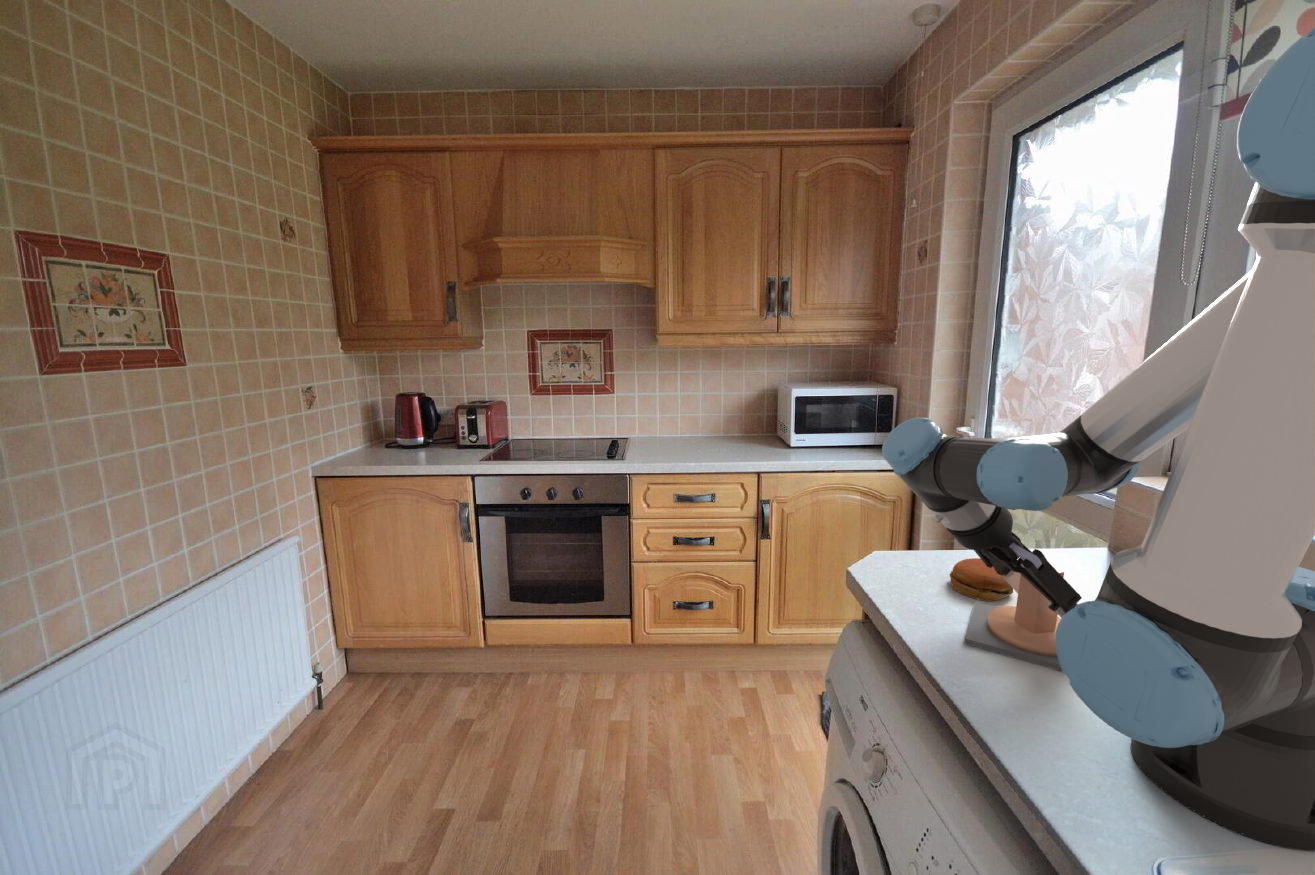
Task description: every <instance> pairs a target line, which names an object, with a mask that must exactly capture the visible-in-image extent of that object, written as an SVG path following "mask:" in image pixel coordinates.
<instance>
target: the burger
mask: <svg viewBox="0 0 1315 875" xmlns="http://www.w3.org/2000/svg"><path fill="white" fill-rule="evenodd" d="M1004 577H1005V576H1004V575H1003V576H1002V575H999V574H998V573H997V572H996V571H995V569H994V567H992V568H990V567H987V566H986V564H985V563H984V562H983V561H982V560H981V558H980V557H977V558H976V557H975V558H965V559H962V560H960V561H958V562H957V563H955V565H954V566H953V567H952V570H951V571H950V573H949V578H950V584H951V587H952V588H953V589H954V590H956V591H957V592H958V593H960V594H962V595H964V596H965V597H969V598H971V599H972V598H973V599H977V600H980V601H985V602H997V601H999V600H1001V599H1004V598H1006V597H1008V596H1010V595H1012V594H1013V593H1014V589H1013V588H1012V587H1011V586H1010V584H1009V583H1008V582H1007V581H1006V580H1005V579H1004Z"/></svg>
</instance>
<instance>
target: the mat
mask: <svg viewBox="0 0 1315 875" xmlns="http://www.w3.org/2000/svg"><path fill="white" fill-rule="evenodd" d="M995 608H998V606H994V605H989V604H986V603H983V602H982V603H981V602H978V601H974V606H973V609H972V613H971V616H970V619H969V623H968V626H967V629H966V632H965V637H964V640H963V644H965V645H969V646H972V647H976V648H979V649H982V650H986V651H990V652H993V653H997V654H1000V655H1003V656H1008V657H1011V658H1015V659H1018V660H1021V661H1026V662H1029V663H1032V664H1036V665H1039V666H1043V667H1046V668H1049V669H1054V670H1057V671H1061V672H1063V671H1062V668H1061V666H1060V663H1059V660H1058V657H1053V656H1045V655H1040V654H1036V653H1032V652H1028V651H1025V650H1022V649H1019V648H1017V647H1014V646H1012V645H1010V644H1008V643H1006V642H1004V641H1003V640H1001V639H999V638H998V637H997V636H995V635H994V634H993V633H992V632H991V631H990V630H989V628H988V625H987V620H988V614H989V612H990V611H991V610H993V609H995Z"/></svg>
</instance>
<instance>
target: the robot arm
mask: <svg viewBox="0 0 1315 875" xmlns="http://www.w3.org/2000/svg"><path fill="white" fill-rule="evenodd" d="M1237 126H1238V127H1237V134H1236V135H1237V136H1236V149H1237V154H1238V158H1239V160H1240V162H1241V163H1242V164H1243V166H1244V169H1245V171H1246V172H1247V174H1248V176H1249V177H1250V179H1251V180H1252V182H1254V186H1253V188H1252V190H1251V193H1250V196H1249V199H1248V201H1247V204H1246V207H1245V210H1244V212H1243V215H1242V218H1241V220H1240V223H1239V226H1238V228H1237V230H1238V232H1239V233H1240V234H1241V236H1243V238H1244V239H1245V240H1246V241H1247V242H1248V244H1249V245H1250V247H1252V248H1253V250H1254V251H1255V261H1254V264H1253V266H1252V269H1251V270H1250V271H1249V272H1248V273H1246V274H1245V275H1244V276H1243V277H1241V279H1239V280H1238V281H1237V282H1236V283H1235V284H1233V285H1232V286H1231V287H1230V288H1229V289H1228V290H1226V291H1225V292H1224V293H1222V294H1221V295H1220V296H1219V297H1218V298H1217V299H1216V300H1214V302H1212V303H1210V305H1209V306H1208V307H1206V308H1204V310H1203V311H1201V313H1199V314H1198V315H1197V316H1196V317H1195V318H1193V319H1192V320H1191V321H1190V322H1188V324H1187V325H1185V326H1184V327H1182V328H1181V329H1180V330H1179V331H1178V332H1177V333H1176V334H1174V335H1173V336H1172V337H1171V338H1170V339H1169V340H1168V341H1166V342H1165V343H1164V344H1163V345H1162V346H1161V347H1159V348H1158V349H1156V351H1155V352H1154V353H1152V354H1151V355H1150V356H1148V357H1147V358H1146V359H1145V360H1144V361H1142V362H1141V363H1140V364H1139V365H1138V366H1137V367H1135V368H1134V369H1133V370H1132V371H1131V372H1129V374H1128V375H1126V376H1125V377H1124V378H1122V379H1121V380H1120V381H1119V382H1118V383H1116V385H1115V386H1113V387H1112V388H1111V389H1109V390H1108V391H1107V392H1106V393H1105V394H1103V396H1102V397H1100V398H1099V399H1098V400H1096V401H1095V402H1094V403H1093V404H1091V406H1090V407H1088V408H1087V409H1086V410H1085V411H1084V412H1082V414H1081V415H1080V416H1078V417H1077V418H1076V419H1074V420H1073V421H1072V422H1071V423H1070V424H1068V425H1067V426H1065V428H1063V429H1062V430H1060V431H1058V432H1056V433H1055V432H1054V433H1046V434H1045V433H1043V434H1036V435H1035V434H1034V435H1021V436H1012V437H1011V436H1010V437H999V438H998V437H997V438H996V437H995V438H993V437H992V438H990V437H966V436H960V435H959V436H957V435H956V436H955V435H948V434H945V433H944V432H943V429H942V428H941V426H938V425H937V424H936V423H935V422H933V420H931V419H929V418H927V417H922V416H921V417H917V416H916V417H913V418H910V419H907V420H905V421H903V422H901V423H900V424H898V425H897V426H896V427H894V428H892V430H891V431H889V434H888V435H887V437H886V438H885V439H884V441H883V443H882V446H881V453H882V457H883V459H884V460H885V461H886V462H887V464H889V466H890V467H891V468H892V470H893V472H894V475H896V476H898V478H900V480H902V482H904V484H905V485H906V486H907V487H908V488H909V489H910V491H912V492H913V494H915V495H916V497H917V498H918V499H920V501H921V502H922V503H923V504H924V505H925V506H926V507H927V508H928V510H930V512H932V513H933V514H934V515H933V518H932V520H933V521H935V523H940V522H941V524H942V525H943V526H944V527H945V528H946V530H947V531H948V532H949V534H951V536H952V537H953V538H954V539H955V540H956V541H957V542H958V543H959V544H960V545H961V546H963V547H964V548H965V549H968V550H973V551H974V552H975V553H976V555H977V556H978V558H981V560H982V561H983V562H984V563H985V564H986V566H987V567H990V568H992V567H994V569H995V571H996V572H997V573H998V574H999V575H1002V576H1003V575H1004V576H1005V577H1004V579H1005V580H1006V581H1007V582H1008V583H1009V584H1010V586H1011V587H1012V588H1013V591H1015V592H1016V594H1018V590H1019V583H1020V575H1022V576H1023V577H1024V578H1025V579H1026V580H1027V581H1028V582H1029V583H1031V584H1032V585H1033V586H1034V587H1035V588H1036V589H1037V590H1038V591H1039V592H1040V593H1041V594H1043V595H1044V596H1045V597H1046V598H1047V599H1048V600H1049V601H1050V602H1049V603H1048V604H1049V605H1050V606H1049V607H1048V608H1050V609H1051V610H1052V611H1054V612H1056V613H1057V614H1058V617H1059V618H1061V620H1060V622H1059V624H1058V626H1057V630H1056V636H1055V646H1056V652H1057V657H1058V660H1059V663H1060V666H1061V668H1062V671H1061V672H1063V673H1064V674H1065V676H1067V677H1068V678H1067V679H1068V680H1069V685H1070V687H1071V688H1072V689H1073V691H1074V693H1075V694H1076V695H1077V697H1078V698H1079V699H1080V700H1081V701H1082V703H1083V704H1084V706H1086V707H1087V708H1088V709H1089V710H1090V712H1092V713H1093V714H1094V715H1095V716H1096V717H1097V718H1099V719H1100V720H1101V721H1103V723H1105V724H1106V725H1108V726H1110V728H1112V729H1114V730H1115V731H1117V732H1118V733H1120V734H1122V735H1123V736H1125V737H1128V738H1129V739H1130V752H1131V754H1132V756H1133V759H1134V761H1135V762H1136V764H1137V765H1138V767H1139V769H1140V770H1141V771H1143V772H1142V773H1144V774H1145V775H1146V776H1147V777H1148V778H1149V779H1150V780H1151V781H1152V782H1153V783H1154V784H1155V785H1156V786H1158V787H1159V788H1160V789H1161V790H1163V791H1164V792H1165V793H1166V794H1168V795H1169V796H1171V797H1172V798H1173V799H1175V800H1176V801H1177V802H1179V803H1180V804H1182V805H1183V806H1185V807H1187V808H1188V809H1190V810H1192V811H1193V812H1195V813H1197V814H1199V815H1201V816H1203V817H1204V818H1206V819H1208V820H1209V821H1212V822H1214V823H1216V824H1218V825H1220V826H1222V827H1225V828H1226V829H1229V830H1230V831H1231V830H1232V831H1234V832H1235V833H1239V834H1242V835H1244V836H1247V837H1248V838H1252V839H1255V840H1257V841H1261V842H1264V843H1268V844H1273V845H1274V846H1275V845H1276V846H1280V847H1284V848H1288V849H1295V850H1303V851H1315V571H1314V570H1311V569H1308V568H1305V567H1302V566H1300V564H1301V562H1302V561H1303V559H1304V557H1305V555H1306V553H1307V551H1308V550H1309V547H1310V545H1311V543H1312V541H1313V540H1314V538H1315V27H1314V28H1313V29H1312V30H1310V31H1309V32H1308V33H1307V34H1305V35H1302V36H1300V38H1299V39H1297V40H1296V41H1294V43H1292V45H1291V46H1290V47H1288V48H1287V49H1286V50H1285V51H1284V52H1283V53H1282V54H1281V55H1280V56H1279V57H1278V58H1277V59H1276V61H1275V62H1273V64H1272V65H1271V67H1270V68H1268V70H1267V71H1266V72H1265V73H1264V75H1263V76H1262V78H1261V79H1260V80H1259V81H1258V83H1257V85H1255V88H1254V90H1253V91H1252V93H1251V94H1250V96H1249V98H1248V100H1247V101H1246V104H1245V106H1244V108H1243V111H1242V114H1241V116H1240V119H1239V122H1238V125H1237ZM1185 431H1186V434H1185V436H1184V439H1183V442H1182V444H1181V446H1180V449H1179V451H1178V453H1177V456H1176V458H1175V461H1174V463H1173V466H1172V469H1171V471H1170V474H1169V476H1168V478H1167V481H1166V483H1165V486H1164V489H1163V491H1162V493H1161V496H1160V498H1159V500H1158V501H1159V502H1158V503H1157V505H1156V506H1157V507H1156V509H1155V511H1154V514H1153V516H1152V519H1151V522H1150V524H1149V526H1148V528H1147V531H1146V533H1145V536H1144V539H1143V542H1142V543H1141V545H1138V546H1136V547H1132V548H1131V547H1130V548H1127V549H1123V550H1121V551H1118V552H1117V553H1115V554H1114V556H1113V557H1112V559H1111V560H1110V563H1109V566H1108V569H1107V570H1106V574H1105V576H1104V579H1103V581H1102V583H1101V585H1100V586H1101V587H1100V589H1099V592H1098V594H1097V596H1096V598H1095V599H1094V600H1088V601H1085V602H1082V603H1081V602H1080V600H1082V595H1081V594H1080V593H1079V592H1077V591H1076V590H1075V588H1074V587H1073V586H1072V585H1071V584H1070V583H1069V582H1068V581H1067V580H1066V579H1065V578H1064V577H1062V576H1061V575H1060V574H1059V573H1058V572H1057V571H1056V570H1055V568H1056V567H1054V566H1053V565H1052V564H1051V563H1050V562H1049V561H1048V559H1047V558H1046V556H1045V554H1044V553H1043V552H1042V551H1041V550H1039V549H1036V548H1035V549H1033V551H1032V550H1030V549H1029V548H1028V547H1027V546H1026V545H1025V544H1024V543H1022V540H1021V538H1020V537H1019V536H1018V535H1016V534H1015V533H1014V532H1013V525H1014V519H1013V516H1012V514H1011V512H1010V510H1011V511H1016V510H1022V511H1031V512H1038V511H1043V510H1046V509H1049V508H1051V507H1052V506H1053V504H1054V503H1055V502H1057V501H1059V500H1060V499H1061V498H1064V497H1071V496H1079V495H1080V496H1081V495H1095V494H1103V493H1106V492H1109V491H1111V490H1116V489H1119V488H1121V487H1123V486H1125V485H1127V484H1128V483H1130V482H1131V481H1132V480H1133V479H1134V478H1135V477H1136V475H1137V472H1138V469H1139V467H1140V465H1141V464H1140V463H1141V462H1142V461H1143V460H1145V459H1146V458H1148V457H1149V456H1150V455H1151V454H1153V453H1155V452H1156V451H1157V450H1159V449H1160V448H1162V447H1164V446H1165V445H1166V444H1169V442H1171V441H1172V440H1173V439H1175V438H1177V437H1178V436H1179V435H1182V433H1184V432H1185ZM1079 602H1080V603H1079Z"/></svg>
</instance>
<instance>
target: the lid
mask: <svg viewBox="0 0 1315 875" xmlns="http://www.w3.org/2000/svg"><path fill="white" fill-rule="evenodd" d="M1054 568H1055V570H1056V571H1057V572H1058V573H1059V574H1060V575H1061V576H1062V577H1063V578H1064V576H1065V571H1062V570H1060V569H1058V568H1057V567H1054ZM1049 602H1050V601H1049V600H1048V599H1047V598H1046V597H1045V596H1044V595H1043V594H1041V593H1040V592H1039V591H1038V590H1037V589H1036V588H1035V587H1034V586H1033V585H1032V584H1031V583H1029V582H1028V581H1027V580H1026V579H1025V578H1024V577H1023V576H1022V575H1020V583H1019V590H1018V593H1017V599H1016V605H1015V606H1013V605H1012V606H1010V605H1009V606H1008V605H1004V606H999V607H998V606H997V607H998V608H995V609H993V610H991V611H990V612H989V614H988V620H987V625H988V628H989V630H990V631H991V632H992V633H993V634H994V635H995V636H997V637H998V638H999V639H1001V640H1003V641H1004V642H1006V643H1008V644H1010V645H1012V646H1014V647H1017V648H1019V649H1022V650H1025V651H1028V652H1032V653H1036V654H1040V655H1045V656H1053V657H1057V652H1056V646H1055V636H1056V630H1057V626H1058V624H1059V622H1060V620H1061V617H1060V616H1059V615H1058V614H1057V613H1056V612H1054V611H1052V610H1051V609H1050V608H1048V607H1049V606H1050V605H1049V604H1048V603H1049Z"/></svg>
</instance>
